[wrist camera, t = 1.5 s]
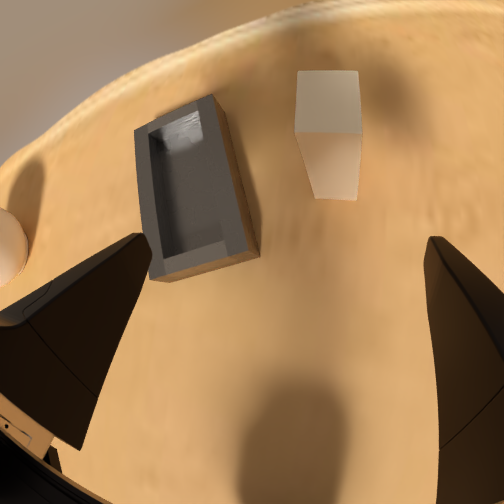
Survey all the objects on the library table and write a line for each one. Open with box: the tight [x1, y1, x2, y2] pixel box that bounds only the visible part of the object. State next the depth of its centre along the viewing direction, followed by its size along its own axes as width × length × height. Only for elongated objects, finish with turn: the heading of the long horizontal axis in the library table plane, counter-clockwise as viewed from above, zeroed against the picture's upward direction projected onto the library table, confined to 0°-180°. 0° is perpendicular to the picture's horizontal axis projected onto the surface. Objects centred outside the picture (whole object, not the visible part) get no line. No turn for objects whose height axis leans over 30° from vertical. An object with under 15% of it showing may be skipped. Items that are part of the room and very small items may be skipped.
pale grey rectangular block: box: [294, 70, 362, 201], centre depth 18 cm, size 4×3×10 cm
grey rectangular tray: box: [134, 94, 260, 283], centre depth 25 cm, size 14×8×3 cm, turn 14°
